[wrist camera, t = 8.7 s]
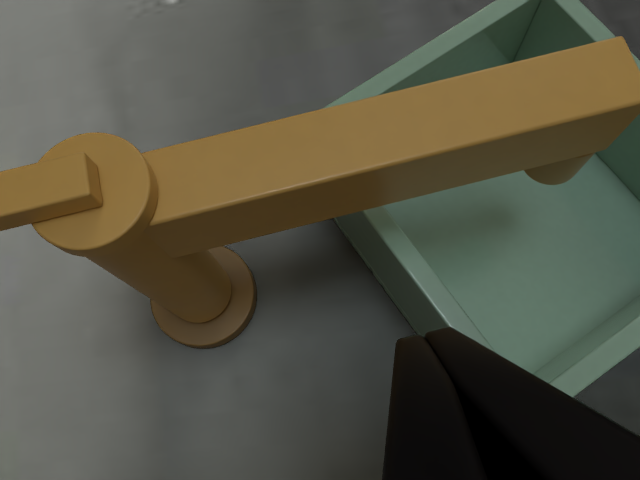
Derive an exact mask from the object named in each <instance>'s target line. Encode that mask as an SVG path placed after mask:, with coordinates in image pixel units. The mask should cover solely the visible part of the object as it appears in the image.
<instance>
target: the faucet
mask: <svg viewBox="0 0 640 480" xmlns="http://www.w3.org/2000/svg"><path fill="white" fill-rule="evenodd" d="M639 114H640V71H639V69H638V66H637V64H636V62H635V60H634V58H633V56H632V54H631V52H630V50H629V48H628V46H627V44H626V42H625V40H624V38H623V37H622V36H619V37H615V38H611V39H606V40H602V41H598V42H594V43H590V44H586V45H582V46H578V47H574V48H570V49H566V50H562V51H557V52H553V53H549V54H545V55H541V56H537V57H533V58H529V59H525V60H521V61H517V62H512V63H508V64H504V65H500V66H496V67H492V68H488V69H484V70H480V71H476V72H472V73H467V74H463V75H459V76H455V77H451V78H447V79H443V80H439V81H435V82H431V83H427V84H422V85H418V86H414V87H410V88H406V89H402V90H398V91H394V92H390V93H386V94H382V95H377V96H373V97H369V98H365V99H361V100H357V101H353V102H349V103H345V104H341V105H337V106H332V107H328V108H324V109H320V110H316V111H312V112H308V113H304V114H300V115H296V116H292V117H287V118H283V119H279V120H275V121H271V122H267V123H263V124H259V125H255V126H251V127H247V128H242V129H238V130H234V131H230V132H226V133H222V134H218V135H214V136H210V137H206V138H202V139H198V140H193V141H189V142H185V143H181V144H177V145H173V146H169V147H165V148H161V149H157V150H153V151H148V152H144V153H140V152H139V150H138V149H137V148H136V147H135V146H133V145H132V144H131V143H129V142H128V141H126V140H125V139H123V138H120V137H118V136H115V135H112V134H106V133H85V134H80V135H76V136H73V137H71V138H68V139H66V140H64V141H62V142H60V143H58V144H57V145H55V146H54V147H53V148H51V149H50V150H49V151H48V152H47V153H46V154H45V155H44V156H43V157H42V158H41V159H40V160H39V162H38V163H34V164H30V165H26V166H22V167H18V168H14V169H10V170H6V171H1V172H0V231H3V230H7V229H11V228H15V227H19V226H23V225H27V224H32V226H33V227H34V229H35V230H36V231H37V233H38V234H39V235H40V236H41V237H42V238H44V239H45V240H46V241H48V242H49V243H51V244H53V245H54V246H56V247H57V248H59V249H61V250H63V251H65V252H67V253H70V254H72V255H76V256H82V257H86V258H88V259H89V260H91V261H93V262H94V263H96V264H97V265H99V266H100V267H102V268H103V269H105V270H107V271H108V272H110V273H111V274H113V275H114V276H116V277H118V278H119V279H121V280H122V281H124V282H125V283H127V284H128V285H130V286H132V287H133V288H135V289H136V290H138V291H139V292H141V293H142V294H144V295H146V296H147V297H149V298H150V299H152V300H153V301H155V302H156V303H158V304H160V305H161V306H163V307H164V308H166V309H167V310H169V311H170V312H172V313H174V314H175V315H177V316H178V317H180V318H181V319H183V320H185V321H188V322H192V323H202V322H207V321H210V320H212V319H214V318H215V317H217V316H218V315H219V314H221V313H222V311H223V310H224V309H225V308H226V306H227V304H228V302H229V300H230V296H231V282H230V279H229V277H228V275H227V273H226V272H225V270H224V269H223V268H222V266H221V265H220V264H219V263H218V261H217V260H216V259H215V258H214V256H213V255H212V254H211V253H210V251H209V250H208V249H212V248H216V247H220V246H224V245H228V244H232V243H236V242H240V241H244V240H248V239H252V238H256V237H260V236H264V235H268V234H272V233H276V232H280V231H284V230H288V229H291V228H295V227H299V226H303V225H307V224H311V223H315V222H319V221H323V220H327V219H331V218H335V217H339V216H343V215H347V214H351V213H355V212H359V211H363V210H367V209H371V208H375V207H379V206H383V205H387V204H391V203H395V202H399V201H403V200H407V199H411V198H415V197H419V196H423V195H427V194H431V193H435V192H439V191H443V190H447V189H451V188H455V187H459V186H463V185H467V184H471V183H475V182H479V181H483V180H487V179H491V178H495V177H499V176H503V175H507V174H511V173H515V172H519V171H523V170H524V171H525V173H526V174H527V175H528V176H529V177H530V178H532V179H533V180H535V181H537V182H539V183H542V184H546V185H558V184H562V183H565V182H567V181H569V180H570V179H571V178H573V177H574V175H575V174H576V173H577V172H578V171H579V170H580V169H581V168H582V167H583V166H584V165H585V163H586V162H587V161H588V160H589V159H590V158H591V157H592V156H593V155H594V154H595V153H596V152H598V151H602V150H605V149H607V148H608V147H609V146H610V144H611V143H612V142H613V141H614V140H615V139H616V138H617V137H618V136H619V135H620V134H621V133H622V132H623V131H624V130H625V129H626V128H627V126H628V125H629V124H630V123H631V122H632V121H633V120H634V119H635V118H636V117H637V116H638V115H639Z"/></svg>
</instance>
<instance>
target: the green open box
mask: <svg viewBox="0 0 640 480" xmlns="http://www.w3.org/2000/svg"><path fill="white" fill-rule="evenodd" d="M611 38H615V36H614V35H613V34H612V33H611V32H610V31H609V30H608V29H607V28H606V27H605V26H604V25H603V24H602V23H601V22H600V21H599V20H598V19H597V18H596V17H595V16H594V15H593V14H592V13H591V12H590V11H589V10H588V9H587V8H586V7H585V6H584V5H583V4H582V3H581V2H580V1H579V0H496V1H494V2H493V3H491V4H489V5H488V6H486V7H485V8H483V9H481V10H480V11H478V12H477V13H475V14H473V15H472V16H470V17H469V18H467V19H465V20H464V21H462V22H461V23H459V24H457V25H456V26H454V27H453V28H451V29H449V30H448V31H446V32H445V33H443V34H441V35H440V36H438V37H437V38H435V39H433V40H432V41H430V42H428V43H427V44H425V45H424V46H422V47H420V48H419V49H417V50H416V51H414V52H412V53H411V54H409V55H408V56H406V57H404V58H403V59H401V60H400V61H398V62H396V63H395V64H393V65H392V66H390V67H388V68H387V69H385V70H384V71H382V72H380V73H379V74H377V75H376V76H374V77H372V78H371V79H369V80H368V81H366V82H364V83H363V84H361V85H360V86H358V87H356V88H355V89H353V90H351V91H350V92H348V93H347V94H345V95H343V96H342V97H340V98H339V99H337V100H335V101H334V102H332V103H331V104H329V105H327V106H326V107H324V108H328V107H332V106H337V105H341V104H345V103H349V102H353V101H357V100H361V99H365V98H369V97H373V96H377V95H382V94H386V93H390V92H394V91H398V90H402V89H406V88H410V87H414V86H418V85H422V84H427V83H431V82H435V81H439V80H443V79H447V78H451V77H455V76H459V75H463V74H467V73H472V72H476V71H480V70H484V69H488V68H492V67H496V66H500V65H504V64H508V63H512V62H517V61H521V60H525V59H529V58H533V57H537V56H541V55H545V54H549V53H553V52H557V51H562V50H566V49H570V48H574V47H578V46H582V45H586V44H590V43H594V42H598V41H602V40H606V39H611ZM630 52H631V51H630ZM631 54H632V56H633V58H634V60H635V62H636V64H637V66H638V69H639V71H640V60H639V59H638V58H637V57H636V56H635V55H634V54H633V53H632V52H631ZM324 108H323V109H324ZM332 219H333V220H334V221H335V223H336V224H337V225H338V227H339V228H340V229H341V231H342V232H343V234H344V235H345V236H346V238H347V239H348V240H349V242H350V243H351V245H352V246H353V247H354V249H355V250H356V251H357V253H358V254H359V255H360V257H361V258H362V260H363V261H364V262H365V264H366V265H367V266H368V268H369V269H370V271H371V272H372V273H373V275H374V276H375V277H376V279H377V280H378V281H379V283H380V284H381V286H382V287H383V288H384V290H385V291H386V292H387V294H388V295H389V297H390V298H391V299H392V301H393V302H394V303H395V305H396V306H397V307H398V309H399V310H400V312H401V313H402V314H403V316H404V317H405V318H406V320H407V321H408V322H409V324H410V325H411V327H412V328H413V329H414V331H415V332H416V333H417V334H421V335H423V336H424V335H425V333H426V332H428V331H432V330H436V329H440V328H444V327H452V328H454V329H456V330H458V331H459V332H461V333H463V334H465V335H466V336H468V337H470V338H471V339H473V340H475V341H477V342H478V343H480V344H482V345H483V346H485V347H487V348H489V349H490V350H492V351H494V352H495V353H497V354H499V355H501V356H502V357H504V358H506V359H508V360H509V361H511V362H513V363H514V364H516V365H518V366H520V367H521V368H523V369H525V370H526V371H528V372H530V373H532V374H533V375H535V376H537V377H539V378H540V379H542V380H544V381H545V382H547V383H549V384H551V385H552V386H554V387H556V388H557V389H559V390H561V391H563V392H564V393H566V394H568V395H569V396H571V397H574V396H576V395H577V394H578V393H580V392H581V391H582V390H584V389H585V388H586V387H588V386H589V385H590V384H592V383H593V382H594V381H596V380H597V379H598V378H600V377H601V376H602V375H604V374H605V373H606V372H608V371H609V370H610V369H612V368H613V367H614V366H616V365H617V364H618V363H620V362H621V361H622V360H624V359H625V358H626V357H628V356H629V355H630V354H631V353H633V352H634V351H635V350H637V349H638V348H639V347H640V114H639V115H638V116H637V117H636V118H635V119H634V120H633V121H632V122H631V123H630V124H629V125H628V126H627V128H626V129H625V130H624V131H623V132H622V133H621V134H620V135H619V136H618V137H617V138H616V139H615V140H614V141H613V142H612V143H611V144H610V146H609V147H608V148H607V149H605V150H602V151H598V152H596V153H595V154H594V155H593V156H592V157H591V158H590V159H589V160H588V161H587V162H586V163H585V165H584V166H583V167H582V168H581V169H580V170H579V171H578V172H577V173H576V174H575V175H574V177H573V178H571V179H570V180H569V181H567V182H565V183H562V184H558V185H546V184H542V183H539V182H537V181H535V180H533V179H532V178H530V177H529V176H528V175H527V174H526V173H525V171H524V170H523V171H519V172H515V173H511V174H507V175H503V176H499V177H495V178H491V179H487V180H483V181H479V182H475V183H471V184H467V185H463V186H459V187H455V188H451V189H447V190H443V191H439V192H435V193H431V194H427V195H423V196H419V197H415V198H411V199H407V200H403V201H399V202H395V203H391V204H387V205H383V206H379V207H375V208H371V209H367V210H363V211H359V212H355V213H351V214H347V215H343V216H339V217H335V218H332Z"/></svg>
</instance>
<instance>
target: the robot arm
mask: <svg viewBox="0 0 640 480" xmlns="http://www.w3.org/2000/svg"><path fill="white" fill-rule="evenodd" d="M382 480H640V436H638V435H637V434H635V433H633V432H631V431H630V430H628V429H626V428H625V427H623V426H621V425H619V424H618V423H616V422H614V421H613V420H611V419H609V418H607V417H606V416H604V415H602V414H600V413H599V412H597V411H595V410H594V409H592V408H590V407H588V406H587V405H585V404H583V403H582V402H580V401H578V400H576V399H575V398H573V397H571V396H569V395H568V394H566V393H564V392H563V391H561V390H559V389H557V388H556V387H554V386H552V385H551V384H549V383H547V382H545V381H544V380H542V379H540V378H539V377H537V376H535V375H533V374H532V373H530V372H528V371H526V370H525V369H523V368H521V367H520V366H518V365H516V364H514V363H513V362H511V361H509V360H508V359H506V358H504V357H502V356H501V355H499V354H497V353H495V352H494V351H492V350H490V349H489V348H487V347H485V346H483V345H482V344H480V343H478V342H477V341H475V340H473V339H471V338H470V337H468V336H466V335H465V334H463V333H461V332H459V331H458V330H456V329H454V328H452V327H444V328H440V329H436V330H432V331H428V332H426V333H425V335H424V336H423V335H421V334H417V335H413V336H409V337H405V338H402V339H399V340H398V341H397V342H396V347H395V357H394V367H393V377H392V387H391V396H390V406H389V416H388V426H387V436H386V446H385V456H384V466H383V476H382Z"/></svg>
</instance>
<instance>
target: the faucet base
mask: <svg viewBox="0 0 640 480" xmlns="http://www.w3.org/2000/svg"><path fill="white" fill-rule="evenodd" d="M208 250H209V251H210V253H211V254H212V255H213V256H214V258H215V259H216V260H217V261H218V263H219V264H220V265H221V266H222V268H223V269H224V270H225V272H226V273H227V275H228V277H229V279H230V282H231V296H230V300H229V302H228V304H227V306H226V308H225V309H224V310H223V311H222V313H221V314H219V315H218V316H217V317H215V318H214V319H212V320H210V321H207V322H202V323H192V322H188V321H185V320H183V319H181V318H180V317H178V316H177V315H175V314H174V313H172V312H170V311H169V310H167V309H166V308H164V307H163V306H161V305H160V304H158V303H156V302H155V301H153V300H152V299H150V302H151V309H152V313H153V316H154V318H155V320H156V322H157V324H158V325H159V327H160V328H161V329H162V330H163V332H164V333H165V334H167V335H168V336H169V337H170V338H172V339H174V340H175V341H177V342H179V343H181V344H184V345H186V346H189V347H193V348H213V347H217V346H220V345H223V344H225V343H227V342H229V341H231V340H232V339H234V338H235V337H236V336H238V335H239V334H240V333H241V332H242V331H243V330H244V329H245V327H246V326H247V325H248V323H249V321H250V320H251V318H252V316H253V313H254V310H255V307H256V301H257V289H256V283H255V280H254V277H253V275H252V273H251V271H250V269H249V268H248V266H247V264H246V263H245V262H244V261H243V259H242V258H241V257H240V256H239V255H238V254H236V253H235V252H233V251H232V250H230V249H228V248H226V247H224V246H220V247H216V248H212V249H208Z"/></svg>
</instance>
